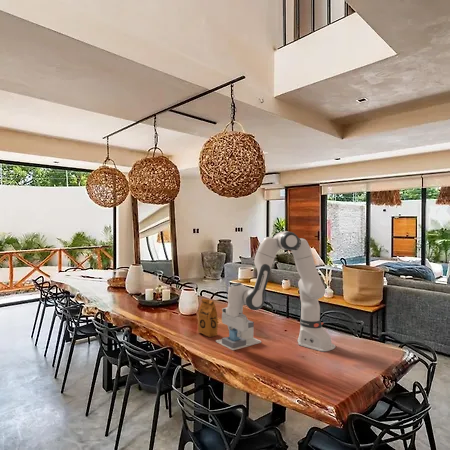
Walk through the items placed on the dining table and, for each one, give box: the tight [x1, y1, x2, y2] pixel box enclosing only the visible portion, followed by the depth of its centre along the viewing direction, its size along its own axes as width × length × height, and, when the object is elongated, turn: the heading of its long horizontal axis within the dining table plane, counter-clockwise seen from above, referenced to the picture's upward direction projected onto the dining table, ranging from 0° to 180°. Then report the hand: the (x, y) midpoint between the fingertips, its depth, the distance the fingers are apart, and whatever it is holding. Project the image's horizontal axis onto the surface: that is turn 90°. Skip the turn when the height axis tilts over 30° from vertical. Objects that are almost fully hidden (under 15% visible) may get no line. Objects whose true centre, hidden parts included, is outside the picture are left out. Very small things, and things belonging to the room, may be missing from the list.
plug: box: [228, 328, 239, 341], centre depth 198 cm, size 4×4×9 cm
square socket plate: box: [215, 319, 262, 351], centre depth 204 cm, size 16×22×11 cm
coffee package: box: [197, 298, 219, 338], centre depth 217 cm, size 10×12×22 cm
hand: (234, 335), depth 198 cm, fingers open, 5 cm apart
